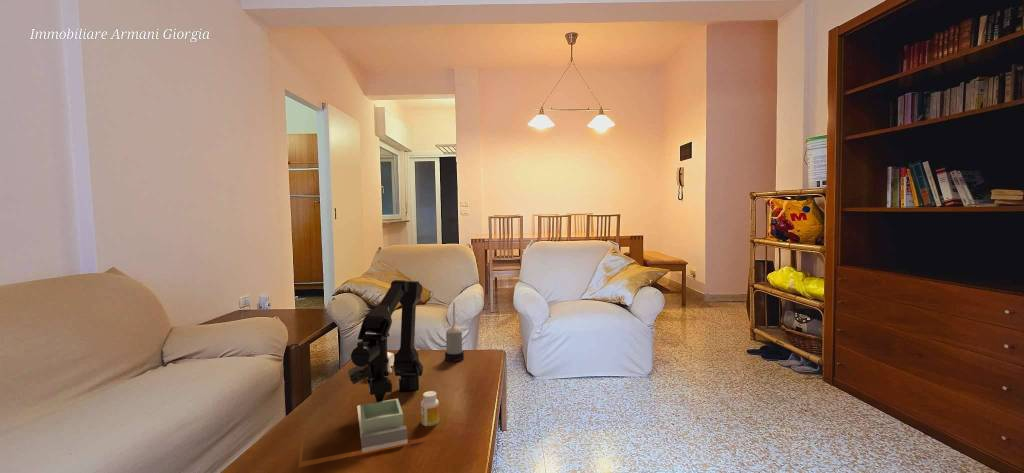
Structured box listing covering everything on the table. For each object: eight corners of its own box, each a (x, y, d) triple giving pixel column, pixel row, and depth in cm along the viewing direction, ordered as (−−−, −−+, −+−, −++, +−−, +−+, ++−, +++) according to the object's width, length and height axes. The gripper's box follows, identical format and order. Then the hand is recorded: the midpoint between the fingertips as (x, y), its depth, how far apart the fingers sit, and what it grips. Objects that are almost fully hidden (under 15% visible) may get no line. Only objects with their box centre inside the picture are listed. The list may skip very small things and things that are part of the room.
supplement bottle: (442, 422, 134) (442, 391, 133) (433, 430, 129) (433, 398, 128) (426, 419, 136) (426, 388, 135) (417, 427, 130) (417, 396, 130)
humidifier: (456, 363, 184) (455, 305, 183) (441, 360, 188) (440, 303, 187) (467, 357, 191) (467, 301, 190) (452, 354, 195) (452, 299, 194)
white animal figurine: (374, 373, 182) (365, 373, 168) (376, 352, 185) (367, 350, 170) (395, 372, 182) (387, 372, 168) (396, 351, 185) (389, 349, 171)
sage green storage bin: (398, 416, 135) (397, 398, 135) (403, 432, 125) (403, 413, 125) (360, 422, 131) (360, 404, 131) (363, 440, 121) (362, 421, 121)
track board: (394, 402, 148) (394, 390, 147) (407, 443, 122) (407, 429, 121) (357, 408, 143) (356, 396, 143) (362, 452, 117) (361, 438, 117)
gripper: (348, 348, 139) (350, 396, 140) (350, 369, 121) (352, 423, 122) (385, 344, 143) (386, 391, 144) (391, 363, 125) (393, 416, 127)
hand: (378, 404), depth 134 cm, fingers closed
